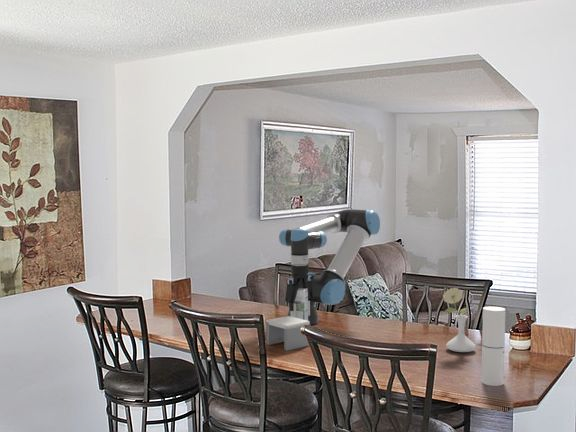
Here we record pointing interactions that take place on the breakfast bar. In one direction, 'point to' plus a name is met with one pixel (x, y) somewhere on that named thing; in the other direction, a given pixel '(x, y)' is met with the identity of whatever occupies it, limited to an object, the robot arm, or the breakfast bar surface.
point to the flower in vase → (460, 341)
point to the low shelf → (286, 332)
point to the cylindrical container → (493, 346)
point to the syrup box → (302, 303)
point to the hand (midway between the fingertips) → (300, 316)
